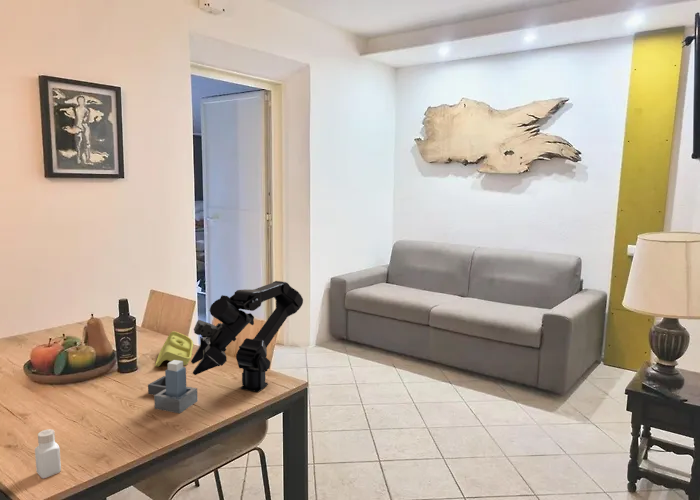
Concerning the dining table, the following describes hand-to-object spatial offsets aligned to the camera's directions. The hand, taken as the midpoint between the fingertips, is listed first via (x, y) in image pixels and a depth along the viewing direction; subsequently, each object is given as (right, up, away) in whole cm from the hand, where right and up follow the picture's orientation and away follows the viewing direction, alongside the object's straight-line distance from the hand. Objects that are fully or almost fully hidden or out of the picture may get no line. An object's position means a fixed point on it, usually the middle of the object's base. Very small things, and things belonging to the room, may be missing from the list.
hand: (192, 368), depth 146 cm
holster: (-11, -9, +9) cm, 17 cm away
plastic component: (-18, -6, +38) cm, 42 cm away
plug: (-5, -11, 0) cm, 12 cm away
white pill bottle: (-21, -15, -35) cm, 43 cm away
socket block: (-5, -11, 0) cm, 12 cm away
